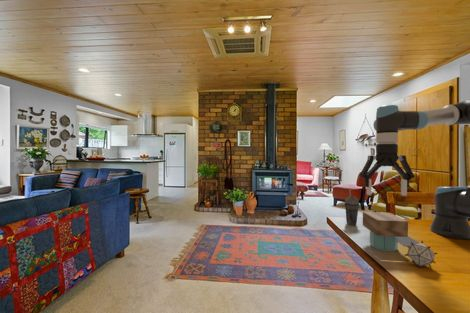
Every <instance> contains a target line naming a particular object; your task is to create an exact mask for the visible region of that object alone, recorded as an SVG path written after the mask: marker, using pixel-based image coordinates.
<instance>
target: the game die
mask: <svg viewBox="0 0 470 313" xmlns="http://www.w3.org/2000/svg"><path fill="white" fill-rule="evenodd" d="M411 244H412V245H411V246H410V247H409V246H407V248H408V251H407V253H406V254H404V256H406V257H407V256H408V257H409V258H410V260H411V262H412V263H415V264H416V265H418V267H417V268H418V269H420V268H421V267H422V266H423V267H424V266H428V267H432V265H431V264H436V261H434V260H435V255H438V252H434V251H433V250H432V249H431V246H429V245H428V246H427V245H426V244H425V243H424V241H423V240H421V241H420V242H419V243H416V244H413V243H412V242H411Z"/></svg>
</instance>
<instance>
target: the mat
mask: <svg viewBox="0 0 470 313" xmlns="http://www.w3.org/2000/svg"><path fill="white" fill-rule="evenodd" d="M411 242H412V243H413V244H416V243H420V242H419V241H418V240H416V239H414V238H412V237H410V236H409V235H408V237H398V244H400V245H401V246H403V247H407V246H409V247H410V246H411V245H412V244H411ZM407 248H408V247H407Z"/></svg>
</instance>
